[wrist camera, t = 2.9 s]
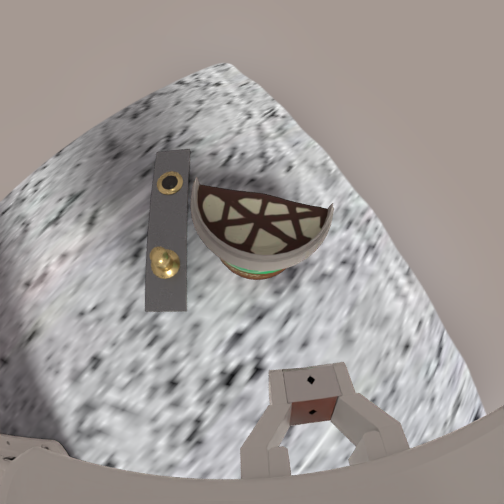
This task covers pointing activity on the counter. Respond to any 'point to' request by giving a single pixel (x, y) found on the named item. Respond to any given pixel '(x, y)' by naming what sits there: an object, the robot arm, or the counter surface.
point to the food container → (257, 229)
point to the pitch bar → (168, 234)
